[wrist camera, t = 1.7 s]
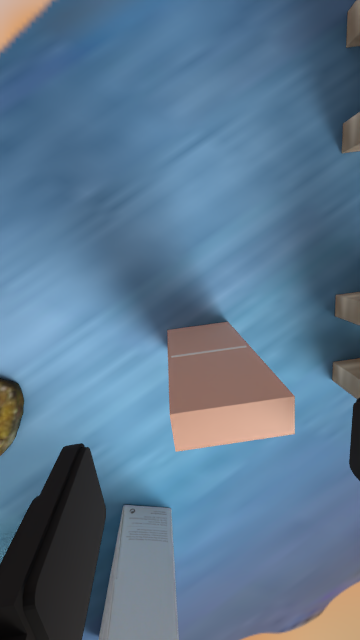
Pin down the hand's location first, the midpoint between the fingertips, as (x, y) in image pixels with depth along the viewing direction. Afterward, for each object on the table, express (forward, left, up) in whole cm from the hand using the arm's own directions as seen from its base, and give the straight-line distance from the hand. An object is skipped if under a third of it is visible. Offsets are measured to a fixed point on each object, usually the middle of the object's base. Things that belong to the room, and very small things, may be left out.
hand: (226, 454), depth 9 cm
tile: (-1, 0, -13) cm, 12 cm away
